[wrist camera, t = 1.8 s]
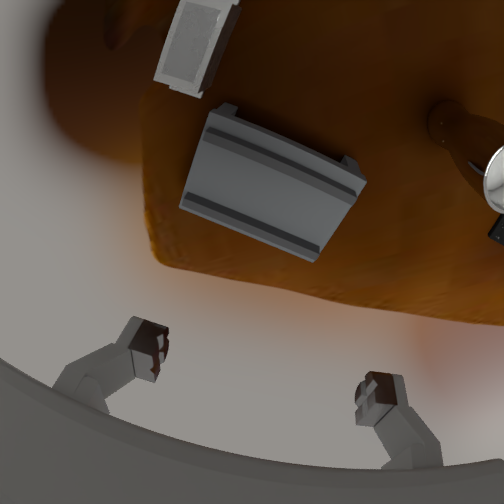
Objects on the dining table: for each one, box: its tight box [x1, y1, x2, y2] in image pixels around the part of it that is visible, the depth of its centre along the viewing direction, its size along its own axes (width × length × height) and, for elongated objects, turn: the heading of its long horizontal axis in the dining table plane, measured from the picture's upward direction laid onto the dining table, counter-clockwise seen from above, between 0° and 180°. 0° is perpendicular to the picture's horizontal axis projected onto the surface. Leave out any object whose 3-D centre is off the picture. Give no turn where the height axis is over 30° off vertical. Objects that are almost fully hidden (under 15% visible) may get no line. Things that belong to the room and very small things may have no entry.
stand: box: [179, 102, 367, 262], centre depth 35 cm, size 12×17×8 cm
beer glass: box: [427, 100, 504, 214], centre depth 24 cm, size 7×7×15 cm
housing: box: [154, 0, 242, 99], centre depth 27 cm, size 13×5×5 cm, turn 159°
